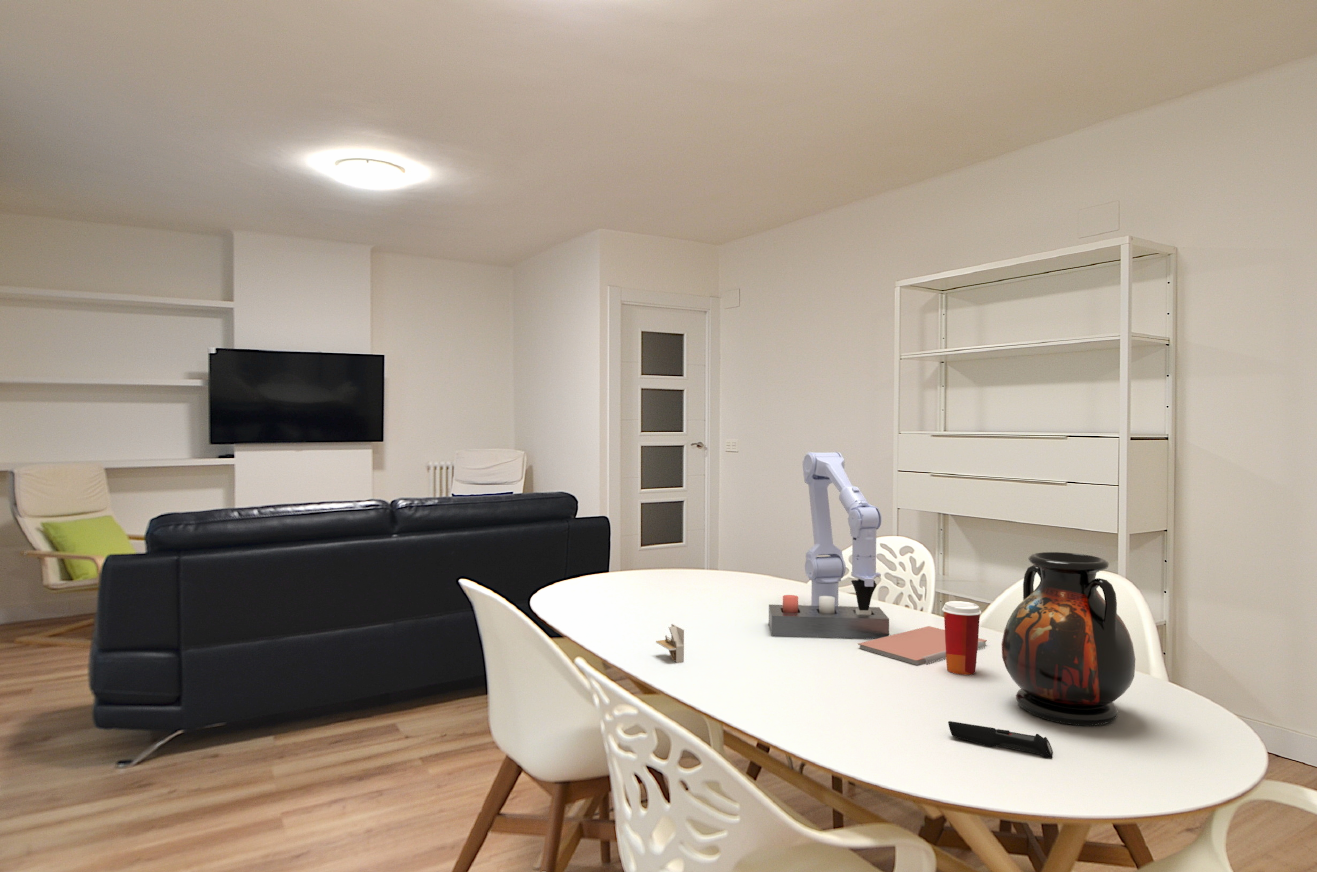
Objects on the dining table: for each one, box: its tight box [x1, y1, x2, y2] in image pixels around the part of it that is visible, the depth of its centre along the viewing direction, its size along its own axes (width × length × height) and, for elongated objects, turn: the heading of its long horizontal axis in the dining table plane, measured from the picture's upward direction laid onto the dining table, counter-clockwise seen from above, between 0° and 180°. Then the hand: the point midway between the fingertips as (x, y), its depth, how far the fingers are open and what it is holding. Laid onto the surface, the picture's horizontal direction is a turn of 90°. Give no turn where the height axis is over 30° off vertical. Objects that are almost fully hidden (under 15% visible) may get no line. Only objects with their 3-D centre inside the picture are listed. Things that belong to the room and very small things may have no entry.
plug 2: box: [856, 608, 871, 615], centre depth 195 cm, size 4×4×5 cm
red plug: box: [782, 594, 799, 613], centre depth 197 cm, size 4×4×5 cm
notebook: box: [857, 625, 988, 666], centre depth 183 cm, size 27×17×2 cm, turn 126°
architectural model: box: [655, 623, 685, 664], centre depth 173 cm, size 3×7×7 cm, turn 27°
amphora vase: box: [1001, 551, 1136, 727], centre depth 142 cm, size 22×22×28 cm
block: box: [768, 604, 890, 640], centre depth 196 cm, size 12×28×5 cm, turn 85°
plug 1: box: [819, 596, 835, 614], centre depth 196 cm, size 4×4×5 cm
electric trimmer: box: [947, 720, 1054, 759], centre depth 127 cm, size 4×16×3 cm, turn 61°
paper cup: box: [941, 600, 982, 676], centre depth 165 cm, size 8×8×14 cm
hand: (863, 609), depth 195 cm, fingers closed, pressing on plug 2
